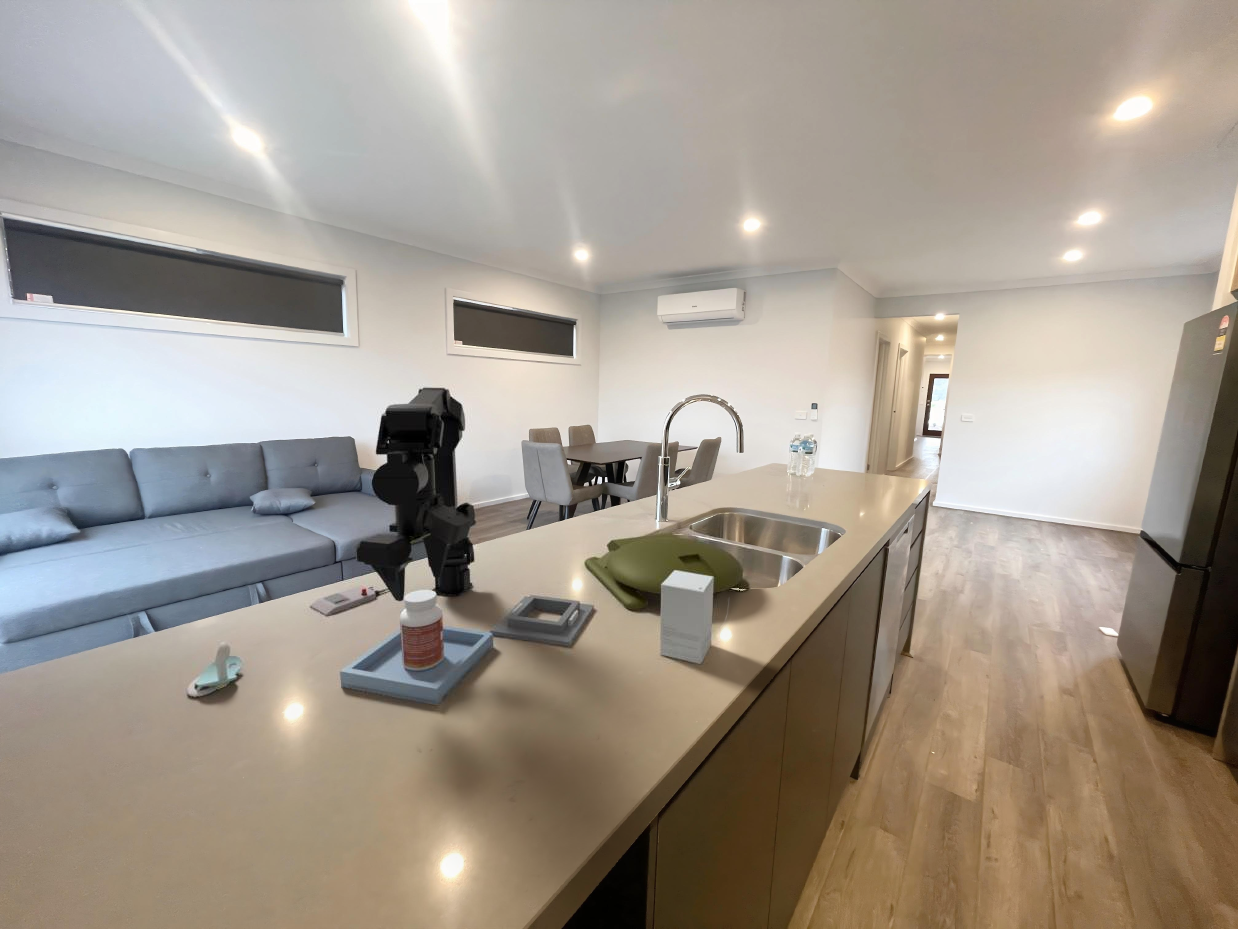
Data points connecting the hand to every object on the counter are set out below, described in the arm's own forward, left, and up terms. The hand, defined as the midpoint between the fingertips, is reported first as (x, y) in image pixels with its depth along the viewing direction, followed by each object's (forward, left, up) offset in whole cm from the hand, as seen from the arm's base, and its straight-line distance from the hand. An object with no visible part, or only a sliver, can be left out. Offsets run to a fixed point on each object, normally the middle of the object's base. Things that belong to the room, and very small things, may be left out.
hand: (419, 588), depth 75 cm
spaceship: (+33, +45, -14) cm, 57 cm away
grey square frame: (+13, +19, -13) cm, 26 cm away
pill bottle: (0, 0, -12) cm, 13 cm away
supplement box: (+40, +16, -13) cm, 45 cm away
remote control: (-29, +16, -14) cm, 36 cm away
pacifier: (-26, -12, -13) cm, 32 cm away
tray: (0, 0, -13) cm, 13 cm away
